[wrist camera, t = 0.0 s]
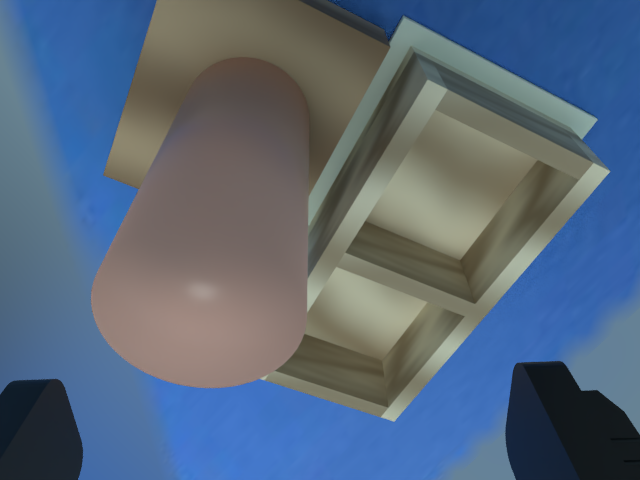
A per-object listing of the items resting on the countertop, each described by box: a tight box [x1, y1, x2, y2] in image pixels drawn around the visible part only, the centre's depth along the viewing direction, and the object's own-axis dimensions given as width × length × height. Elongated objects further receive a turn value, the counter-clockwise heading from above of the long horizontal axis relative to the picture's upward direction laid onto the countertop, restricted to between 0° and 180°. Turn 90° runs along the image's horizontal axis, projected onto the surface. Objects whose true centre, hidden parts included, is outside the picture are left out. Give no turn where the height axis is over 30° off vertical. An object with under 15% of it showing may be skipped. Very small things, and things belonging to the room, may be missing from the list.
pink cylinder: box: [91, 57, 310, 388], centre depth 22 cm, size 6×6×14 cm
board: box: [103, 0, 390, 195], centre depth 29 cm, size 12×10×3 cm
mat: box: [308, 15, 598, 226], centre depth 35 cm, size 22×12×1 cm, turn 154°
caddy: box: [260, 46, 610, 421], centre depth 33 cm, size 20×10×5 cm, turn 154°
